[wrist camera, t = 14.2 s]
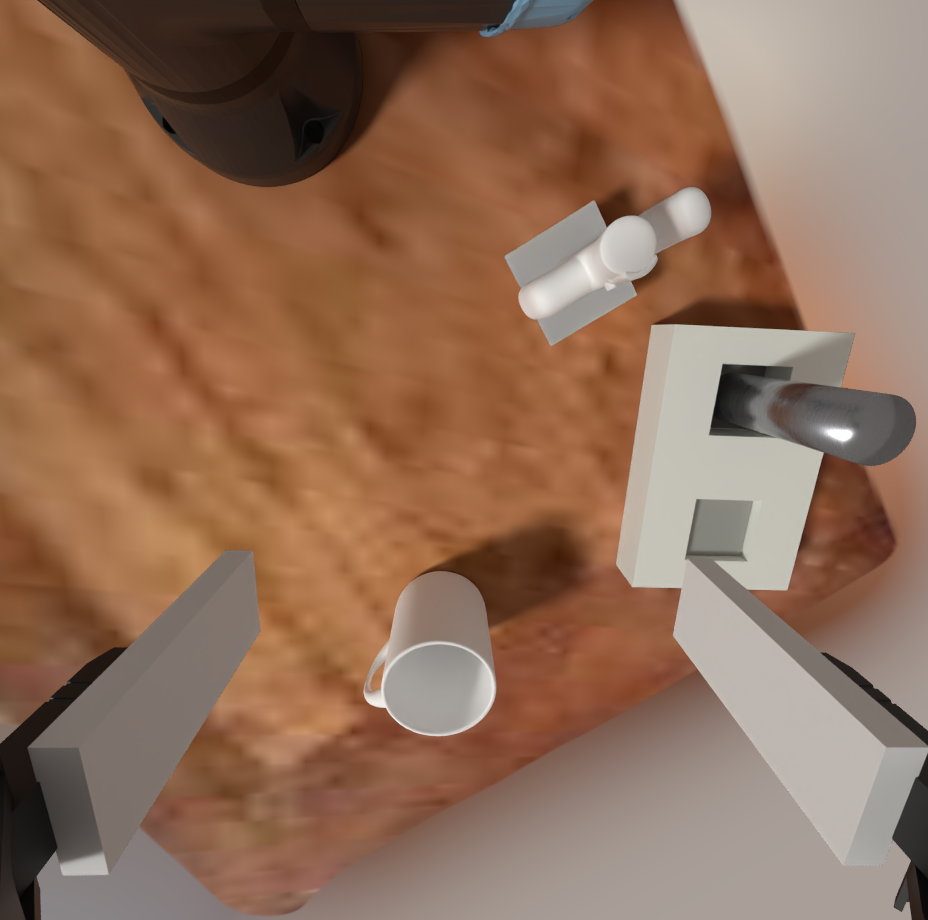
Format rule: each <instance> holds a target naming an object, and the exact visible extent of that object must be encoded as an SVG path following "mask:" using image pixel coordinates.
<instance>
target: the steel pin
mask: <svg viewBox="0 0 928 920" xmlns="http://www.w3.org/2000/svg"><path fill="white" fill-rule="evenodd" d="M713 416H714V417H715V418H717V419H720V420H723V421H726V422H729V423H733V424H736V425H739V426H742V427H745V428H748V429H751V430H755V431H758V432H761V433H764V434H767V435H770V436H773V437H776V438H780V439H783V440H786V441H789V442H792V443H795V444H798V445H802V446H805V447H808V448H811V449H814V450H817V451H820V452H824V453H827V454H830V455H833V456H836V457H839V458H842V459H845V460H849V461H852V462H855V463H858V464H861V465H866V466H875V465H880V464H884V463H886V462H888V461H890V460H892V459H894V458H895V457H897V456H898V455H899V454H900V453H901V452H902V451H903V450H904V449H905V448H906V447H907V446H908V444H909V443H910V441H911V439H912V437H913V434H914V431H915V427H916V416H915V412H914V409H913V407H912V406H911V404H910V403H909V402H908V401H907V400H905V399H903V398H902V397H900V396H896V395H891V394H883V393H877V392H869V391H862V390H855V389H848V388H841V387H833V386H826V385H819V384H812V383H805V382H797V381H790V380H783V379H776V378H769V377H761V376H754V375H747V374H740V373H727V374H724V375H722V376H720V380H719V385H718V390H717V395H716V400H715V406H714V411H713Z"/></svg>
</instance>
